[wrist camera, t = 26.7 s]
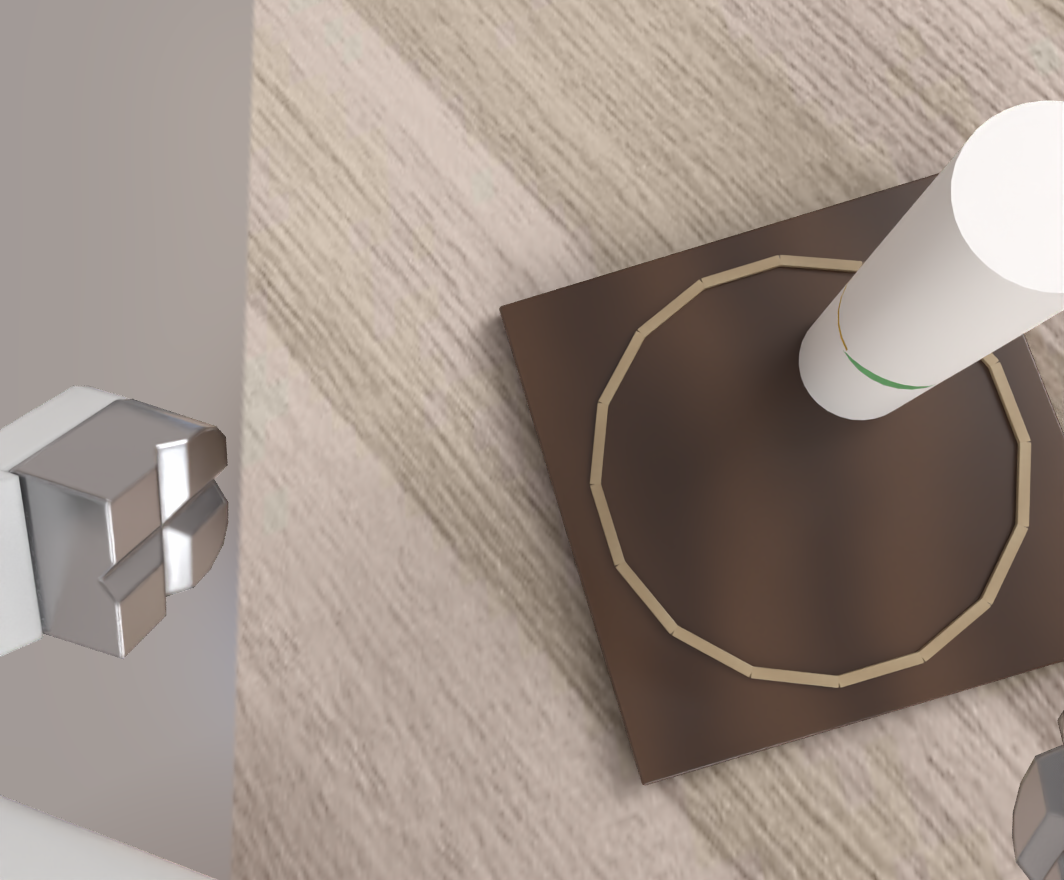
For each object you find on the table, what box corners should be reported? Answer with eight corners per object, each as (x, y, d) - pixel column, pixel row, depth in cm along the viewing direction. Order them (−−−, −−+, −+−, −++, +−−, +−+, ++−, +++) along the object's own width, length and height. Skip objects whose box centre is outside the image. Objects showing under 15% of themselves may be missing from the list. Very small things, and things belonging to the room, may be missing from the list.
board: (641, 781, 34) (643, 787, 33) (500, 314, 37) (497, 304, 36) (1129, 635, 34) (1149, 637, 33) (948, 177, 37) (960, 164, 36)
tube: (778, 333, 35) (915, 148, 21) (885, 287, 35) (1097, 69, 21) (830, 438, 35) (1010, 325, 20) (939, 391, 35) (1199, 243, 20)
